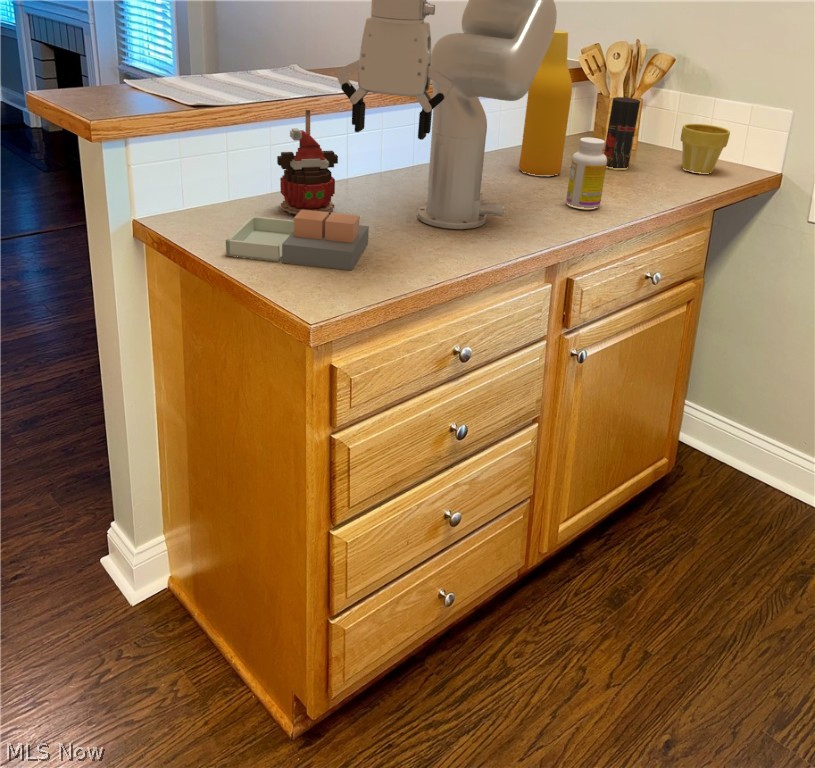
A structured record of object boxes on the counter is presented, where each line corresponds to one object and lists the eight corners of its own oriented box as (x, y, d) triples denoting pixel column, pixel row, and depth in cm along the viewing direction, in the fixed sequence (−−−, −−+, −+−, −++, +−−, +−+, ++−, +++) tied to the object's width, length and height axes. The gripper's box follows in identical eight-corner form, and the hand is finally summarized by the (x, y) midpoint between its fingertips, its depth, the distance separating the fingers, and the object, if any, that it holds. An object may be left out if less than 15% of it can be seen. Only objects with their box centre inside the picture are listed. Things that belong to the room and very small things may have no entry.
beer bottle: (531, 164, 198) (548, 27, 184) (567, 172, 193) (588, 32, 179) (510, 171, 191) (527, 30, 177) (548, 180, 187) (568, 35, 173)
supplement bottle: (606, 207, 171) (617, 141, 165) (587, 213, 167) (598, 146, 161) (577, 199, 175) (587, 134, 169) (558, 204, 171) (568, 138, 165)
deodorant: (630, 171, 197) (642, 103, 190) (604, 169, 197) (615, 101, 190) (625, 164, 203) (637, 98, 195) (599, 163, 203) (610, 96, 195)
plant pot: (708, 165, 207) (718, 123, 202) (728, 177, 198) (738, 134, 193) (667, 164, 205) (675, 122, 200) (685, 176, 196) (694, 132, 191)
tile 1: (328, 230, 141) (328, 212, 139) (321, 239, 137) (322, 220, 135) (301, 227, 141) (301, 209, 140) (294, 236, 137) (294, 217, 136)
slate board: (368, 243, 145) (368, 226, 143) (351, 270, 134) (352, 251, 132) (303, 236, 146) (303, 219, 145) (282, 262, 135) (282, 244, 134)
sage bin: (300, 236, 146) (300, 221, 145) (278, 262, 135) (278, 246, 134) (252, 230, 147) (251, 215, 146) (226, 256, 136) (225, 240, 135)
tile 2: (359, 233, 140) (359, 215, 139) (353, 242, 136) (353, 224, 135) (331, 230, 140) (332, 212, 139) (325, 239, 137) (325, 221, 135)
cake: (329, 202, 164) (330, 103, 156) (343, 217, 156) (345, 114, 148) (273, 204, 161) (271, 104, 152) (284, 220, 153) (283, 115, 144)
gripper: (462, 14, 124) (451, 136, 132) (345, 3, 127) (341, 123, 135) (454, 17, 118) (442, 145, 126) (331, 6, 120) (327, 132, 128)
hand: (390, 134), depth 130 cm, fingers open, 9 cm apart
